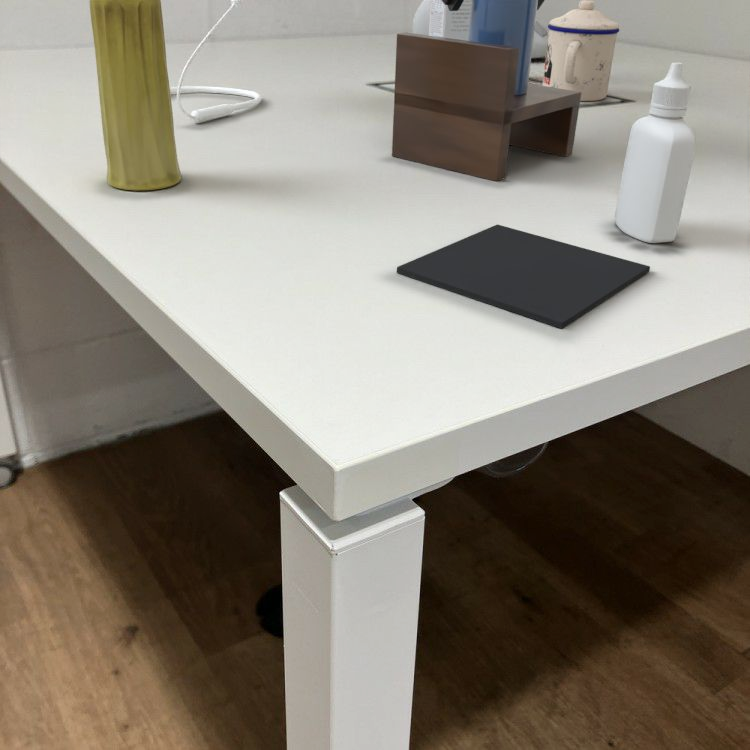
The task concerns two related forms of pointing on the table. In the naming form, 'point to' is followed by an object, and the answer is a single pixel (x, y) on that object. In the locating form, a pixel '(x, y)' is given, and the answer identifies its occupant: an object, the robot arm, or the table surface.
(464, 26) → the cracker box
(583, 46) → the teacup with lid
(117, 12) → the vase
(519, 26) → the cup
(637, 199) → the eye dropper bottle
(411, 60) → the shelf
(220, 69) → the table surface
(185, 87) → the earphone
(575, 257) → the mat
